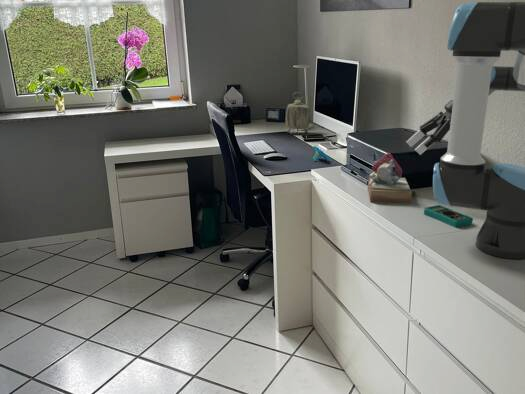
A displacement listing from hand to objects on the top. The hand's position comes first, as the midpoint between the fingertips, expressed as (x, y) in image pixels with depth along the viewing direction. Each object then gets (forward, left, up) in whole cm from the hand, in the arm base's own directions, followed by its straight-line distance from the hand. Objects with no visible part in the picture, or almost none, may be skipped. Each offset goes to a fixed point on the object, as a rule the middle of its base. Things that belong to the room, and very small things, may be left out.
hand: (412, 148), depth 182 cm
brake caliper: (-1, +9, -13) cm, 16 cm away
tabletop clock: (+117, +51, -18) cm, 129 cm away
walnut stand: (-1, +7, -18) cm, 19 cm away
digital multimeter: (-24, -9, -19) cm, 32 cm away
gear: (+50, +34, -18) cm, 64 cm away
